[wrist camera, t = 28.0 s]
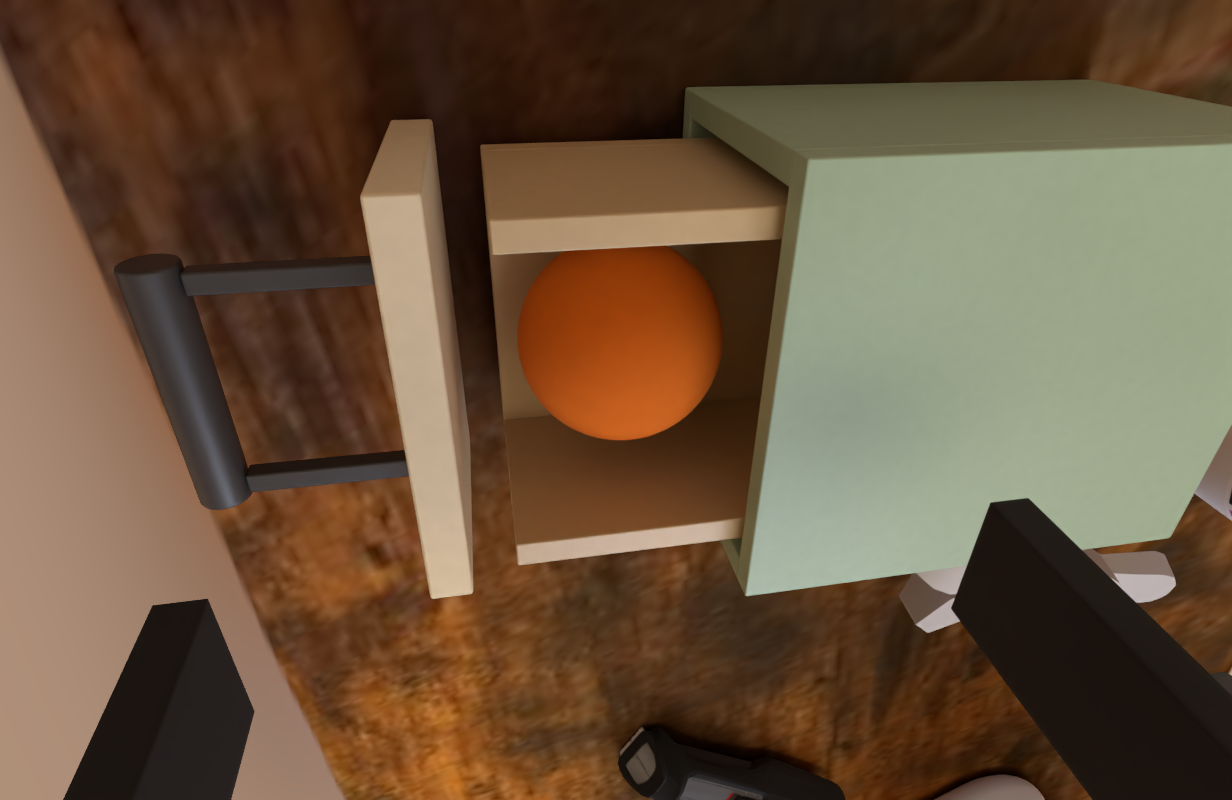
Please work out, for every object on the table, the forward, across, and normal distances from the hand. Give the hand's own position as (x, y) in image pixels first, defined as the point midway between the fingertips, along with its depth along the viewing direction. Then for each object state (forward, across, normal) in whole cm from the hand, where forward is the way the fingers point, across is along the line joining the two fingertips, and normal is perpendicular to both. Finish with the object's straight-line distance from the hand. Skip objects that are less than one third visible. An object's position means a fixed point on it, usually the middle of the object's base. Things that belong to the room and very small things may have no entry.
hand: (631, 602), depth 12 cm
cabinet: (+15, +12, 0) cm, 19 cm away
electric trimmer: (+15, +10, -31) cm, 36 cm away
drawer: (+14, -1, 0) cm, 14 cm away
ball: (+10, +2, 0) cm, 10 cm away
